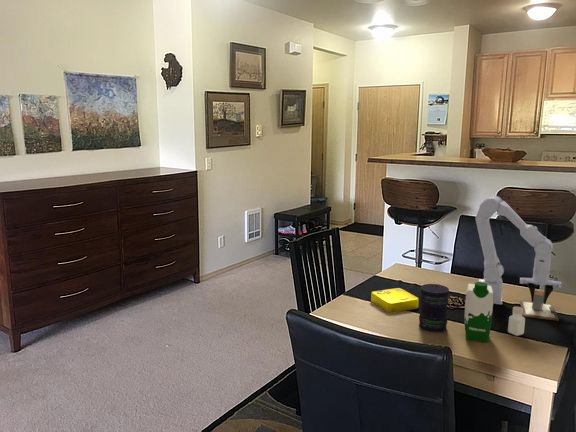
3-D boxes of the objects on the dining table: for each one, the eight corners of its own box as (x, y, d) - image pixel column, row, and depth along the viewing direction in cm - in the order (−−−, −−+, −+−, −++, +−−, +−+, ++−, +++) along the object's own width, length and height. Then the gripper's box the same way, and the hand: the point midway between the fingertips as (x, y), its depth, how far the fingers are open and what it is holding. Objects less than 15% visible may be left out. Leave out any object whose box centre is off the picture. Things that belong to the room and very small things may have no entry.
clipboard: (523, 316, 184) (523, 312, 184) (519, 302, 198) (520, 299, 198) (558, 320, 180) (559, 317, 179) (552, 306, 194) (552, 302, 194)
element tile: (388, 314, 187) (389, 302, 187) (369, 301, 201) (369, 290, 200) (420, 308, 193) (421, 297, 192) (399, 296, 206) (399, 286, 206)
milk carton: (463, 340, 163) (467, 284, 160) (462, 329, 172) (466, 276, 168) (491, 344, 160) (495, 287, 157) (489, 333, 169) (493, 279, 165)
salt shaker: (516, 336, 166) (519, 310, 164) (507, 332, 170) (509, 307, 168) (524, 334, 168) (526, 308, 166) (514, 330, 171) (516, 305, 170)
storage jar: (442, 335, 167) (445, 294, 165) (415, 329, 173) (417, 289, 170) (449, 325, 176) (452, 286, 173) (423, 319, 181) (425, 282, 178)
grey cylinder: (531, 308, 189) (534, 291, 188) (533, 306, 191) (536, 290, 190) (539, 310, 187) (543, 293, 185) (542, 309, 189) (545, 292, 188)
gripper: (522, 270, 187) (519, 303, 189) (564, 274, 182) (560, 308, 184) (520, 265, 193) (517, 297, 196) (561, 269, 188) (557, 302, 191)
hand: (538, 302), depth 190 cm, fingers closed on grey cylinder, 3 cm apart
